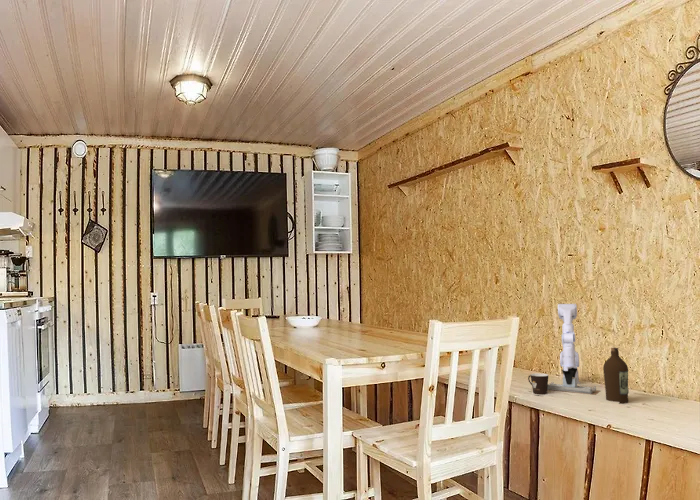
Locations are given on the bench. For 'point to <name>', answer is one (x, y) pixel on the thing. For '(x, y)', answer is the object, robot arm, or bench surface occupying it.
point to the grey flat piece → (571, 388)
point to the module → (573, 384)
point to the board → (581, 393)
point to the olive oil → (616, 378)
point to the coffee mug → (539, 383)
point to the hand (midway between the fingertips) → (570, 383)
